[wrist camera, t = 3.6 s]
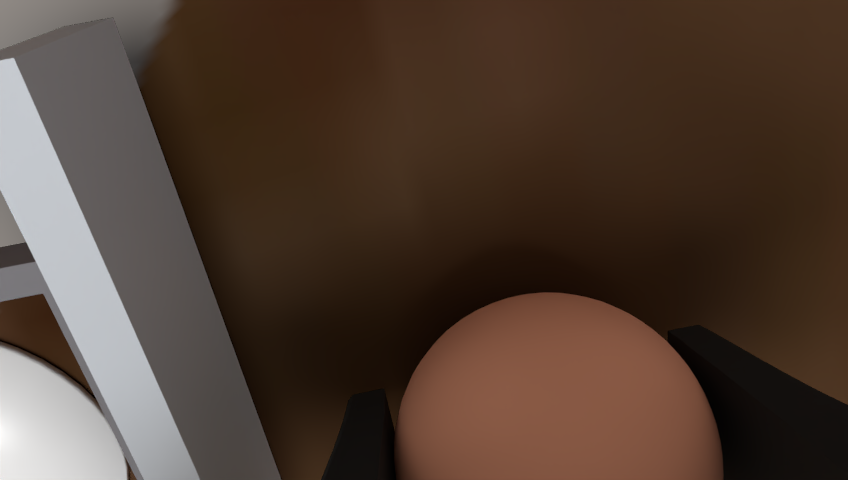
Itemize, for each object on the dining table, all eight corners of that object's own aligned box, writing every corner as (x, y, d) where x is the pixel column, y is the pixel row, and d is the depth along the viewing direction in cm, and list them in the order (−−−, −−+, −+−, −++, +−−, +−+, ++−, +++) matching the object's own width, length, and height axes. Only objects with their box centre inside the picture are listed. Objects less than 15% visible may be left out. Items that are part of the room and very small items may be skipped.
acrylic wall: (62, 26, 10) (-58, 70, 7) (112, 17, 10) (13, 57, 7) (306, 636, 17) (299, 792, 14) (336, 630, 17) (335, 784, 14)
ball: (504, 187, 12) (613, 367, 7) (690, 327, 14) (877, 546, 9) (332, 385, 14) (326, 644, 9) (522, 487, 16) (603, 747, 11)
